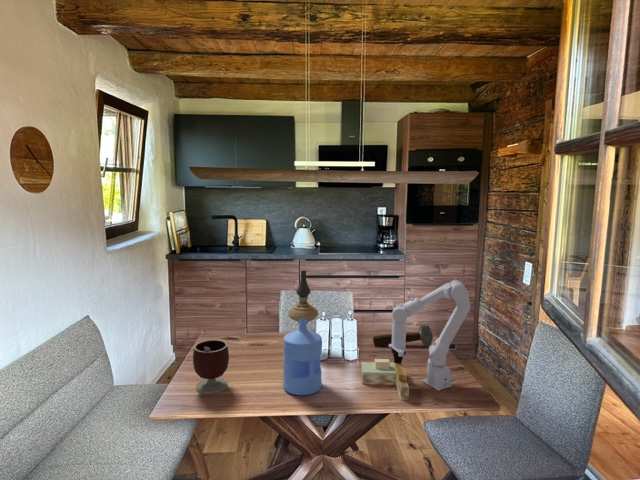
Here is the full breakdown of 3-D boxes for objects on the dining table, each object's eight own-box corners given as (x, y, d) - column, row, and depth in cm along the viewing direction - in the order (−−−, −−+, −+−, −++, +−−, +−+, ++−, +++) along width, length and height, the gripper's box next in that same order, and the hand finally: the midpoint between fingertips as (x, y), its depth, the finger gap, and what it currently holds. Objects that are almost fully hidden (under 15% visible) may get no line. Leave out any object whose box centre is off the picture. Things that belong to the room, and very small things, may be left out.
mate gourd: (199, 377, 171) (198, 332, 169) (232, 378, 171) (231, 332, 169) (187, 396, 156) (186, 346, 153) (223, 397, 156) (222, 347, 153)
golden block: (401, 368, 171) (401, 363, 170) (406, 381, 160) (406, 375, 159) (394, 368, 171) (394, 362, 170) (398, 381, 160) (399, 375, 159)
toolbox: (399, 374, 177) (400, 362, 177) (409, 400, 155) (410, 387, 155) (360, 373, 178) (361, 361, 177) (365, 399, 156) (365, 386, 155)
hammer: (375, 354, 207) (433, 346, 207) (372, 333, 206) (431, 325, 206) (373, 350, 212) (430, 343, 212) (371, 329, 210) (429, 322, 211)
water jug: (275, 384, 166) (275, 318, 163) (306, 374, 176) (307, 311, 172) (297, 400, 154) (297, 329, 150) (329, 388, 164) (330, 321, 160)
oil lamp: (283, 347, 205) (283, 269, 200) (310, 342, 211) (311, 267, 206) (294, 358, 191) (294, 275, 186) (322, 353, 198) (324, 273, 192)
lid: (400, 367, 177) (400, 356, 176) (404, 377, 167) (404, 366, 166) (360, 366, 177) (361, 355, 177) (362, 376, 167) (363, 365, 167)
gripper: (386, 328, 177) (385, 358, 179) (391, 341, 163) (390, 373, 165) (403, 329, 177) (401, 358, 179) (409, 341, 163) (408, 374, 164)
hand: (397, 366), depth 172 cm, fingers closed
